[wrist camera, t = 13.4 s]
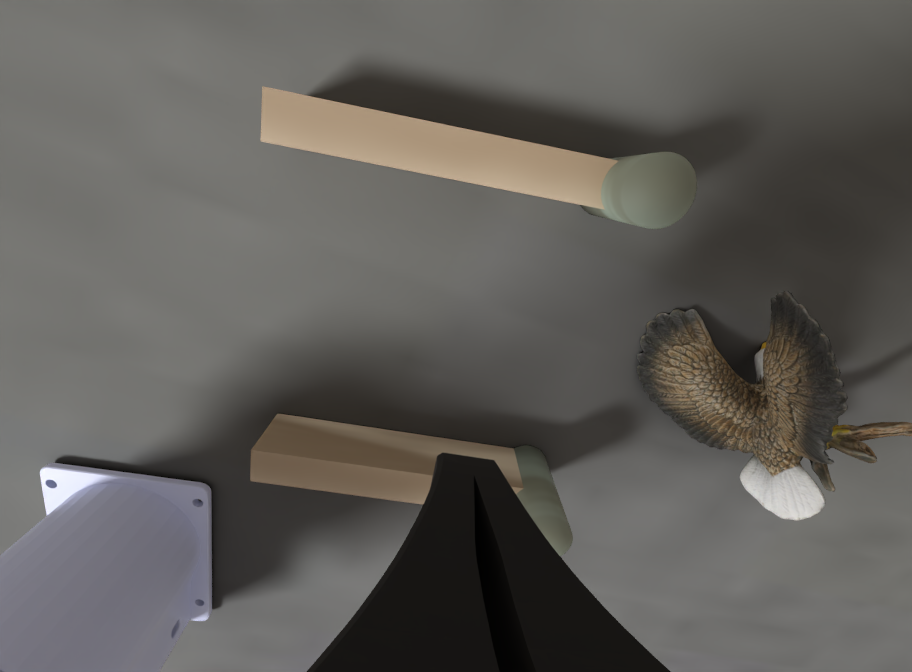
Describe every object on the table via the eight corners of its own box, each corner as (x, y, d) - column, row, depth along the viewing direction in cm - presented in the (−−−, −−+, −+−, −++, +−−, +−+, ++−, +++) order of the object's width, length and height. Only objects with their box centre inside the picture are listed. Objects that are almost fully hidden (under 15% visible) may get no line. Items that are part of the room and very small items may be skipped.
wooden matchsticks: (540, 484, 23) (564, 563, 18) (275, 446, 22) (227, 521, 17) (637, 165, 17) (708, 159, 13) (294, 93, 16) (232, 58, 12)
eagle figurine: (890, 347, 19) (787, 236, 16) (979, 513, 15) (863, 411, 11) (718, 400, 25) (612, 326, 21) (747, 533, 20) (621, 467, 17)
